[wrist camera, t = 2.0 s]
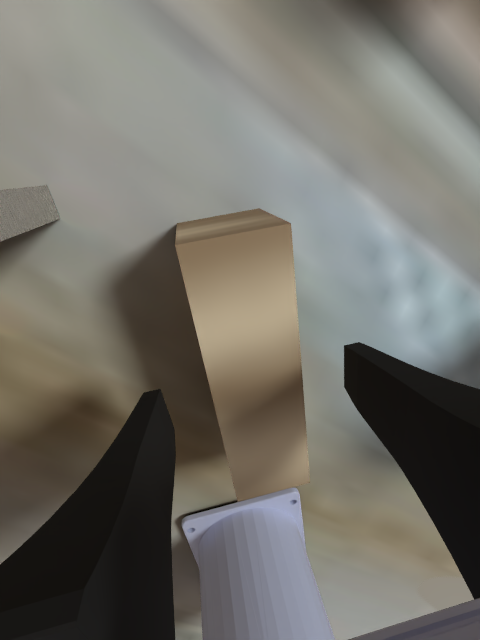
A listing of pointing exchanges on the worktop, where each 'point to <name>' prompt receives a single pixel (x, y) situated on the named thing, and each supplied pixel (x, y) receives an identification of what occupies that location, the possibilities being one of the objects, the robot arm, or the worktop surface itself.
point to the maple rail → (249, 343)
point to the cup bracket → (25, 210)
